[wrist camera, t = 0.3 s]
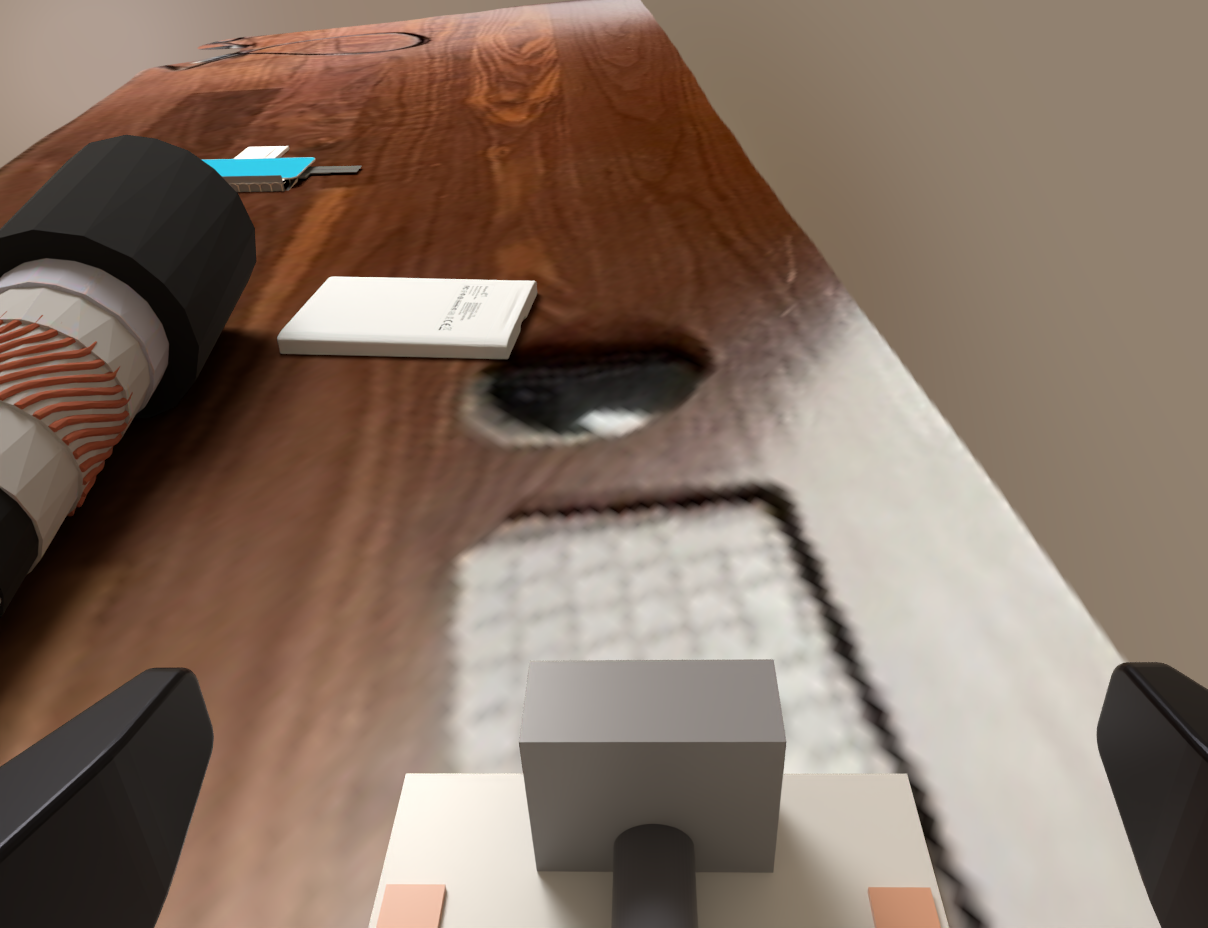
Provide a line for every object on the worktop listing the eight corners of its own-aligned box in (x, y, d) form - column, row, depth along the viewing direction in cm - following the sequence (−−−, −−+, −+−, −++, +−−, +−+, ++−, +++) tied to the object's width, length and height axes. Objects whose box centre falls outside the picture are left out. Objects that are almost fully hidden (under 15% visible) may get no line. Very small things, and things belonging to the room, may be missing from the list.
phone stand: (382, 152, 83) (379, 132, 82) (342, 198, 73) (337, 177, 72) (160, 157, 84) (155, 138, 83) (92, 203, 74) (84, 182, 74)
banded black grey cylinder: (-215, 955, 29) (-624, 804, 23) (161, 340, 55) (11, 196, 49) (11, 870, 26) (-397, 672, 20) (296, 260, 52) (154, 97, 46)
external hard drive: (337, 298, 58) (538, 301, 56) (282, 363, 51) (509, 369, 50) (331, 273, 57) (536, 275, 55) (275, 336, 50) (506, 340, 49)
